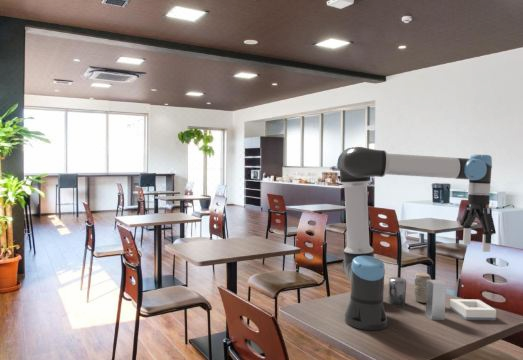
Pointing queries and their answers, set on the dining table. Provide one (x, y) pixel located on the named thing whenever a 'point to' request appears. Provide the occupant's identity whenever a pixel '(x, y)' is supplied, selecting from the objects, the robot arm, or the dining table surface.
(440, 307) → the square peg
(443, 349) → the dining table surface
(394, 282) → the round bit
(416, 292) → the carving
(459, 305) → the bore block
